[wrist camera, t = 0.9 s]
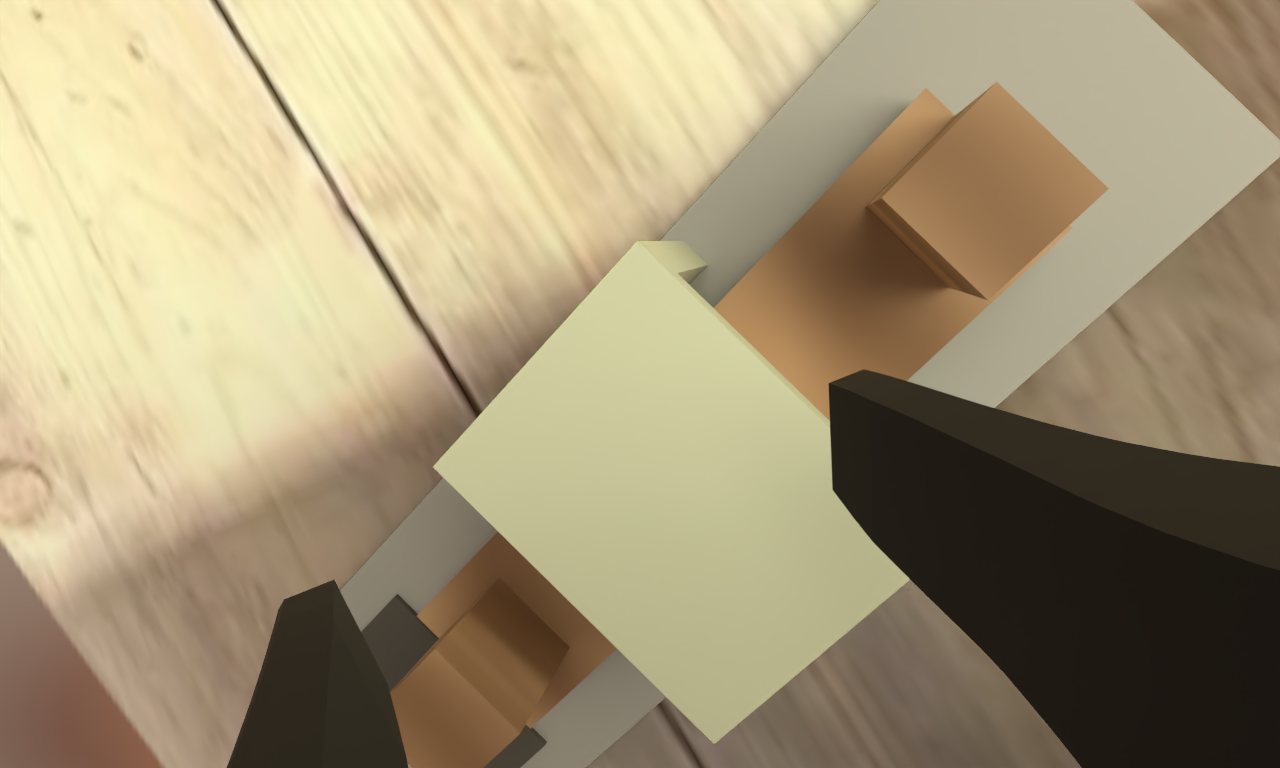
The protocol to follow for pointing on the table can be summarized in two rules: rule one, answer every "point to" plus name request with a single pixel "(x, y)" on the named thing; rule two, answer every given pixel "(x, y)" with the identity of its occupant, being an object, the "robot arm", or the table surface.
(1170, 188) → the track board
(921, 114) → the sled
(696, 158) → the table surface
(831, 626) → the tunnel
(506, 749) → the pit
